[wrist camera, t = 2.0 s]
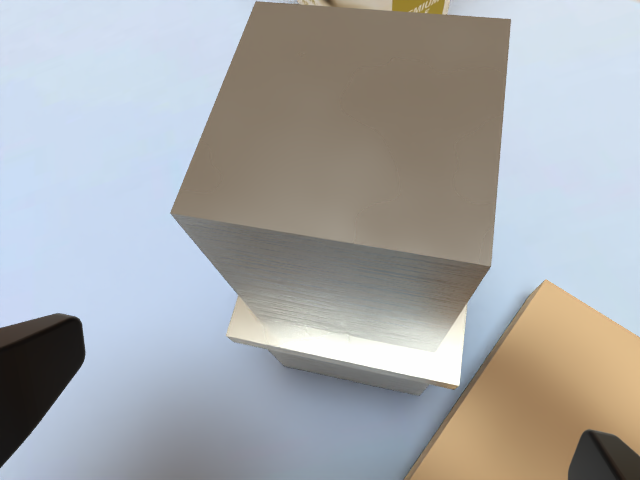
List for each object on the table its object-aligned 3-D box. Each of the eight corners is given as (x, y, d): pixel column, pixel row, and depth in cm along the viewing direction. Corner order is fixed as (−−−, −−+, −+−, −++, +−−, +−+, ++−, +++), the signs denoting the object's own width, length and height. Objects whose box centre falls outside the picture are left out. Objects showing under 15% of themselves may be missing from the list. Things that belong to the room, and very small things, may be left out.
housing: (428, 408, 18) (541, 323, 6) (272, 373, 19) (114, 245, 7) (446, 259, 20) (552, -4, 9) (308, 236, 21) (233, -24, 10)
